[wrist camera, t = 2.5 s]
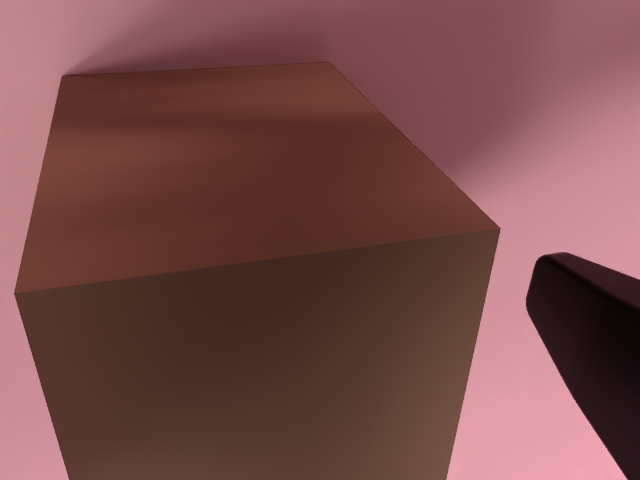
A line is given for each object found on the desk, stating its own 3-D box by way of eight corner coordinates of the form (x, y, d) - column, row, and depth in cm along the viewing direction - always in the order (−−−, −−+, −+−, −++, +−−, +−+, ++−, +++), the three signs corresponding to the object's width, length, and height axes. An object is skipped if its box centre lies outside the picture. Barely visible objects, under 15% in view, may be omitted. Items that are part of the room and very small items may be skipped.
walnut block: (105, 297, 12) (102, 590, 7) (62, 75, 10) (14, 292, 5) (320, 267, 13) (440, 505, 9) (328, 61, 11) (500, 229, 6)
